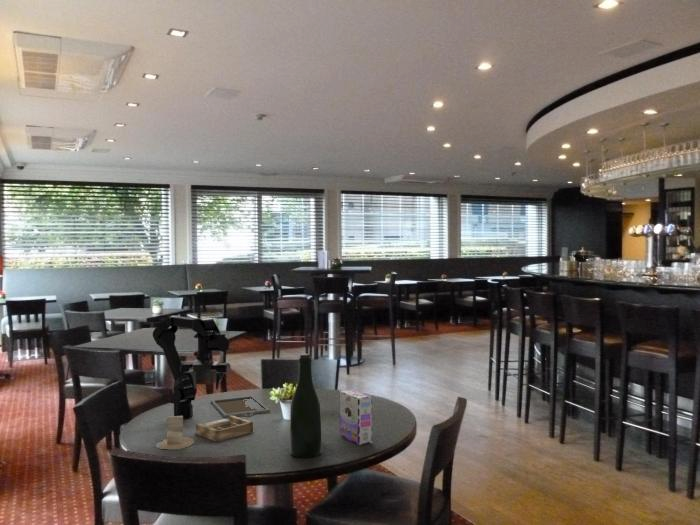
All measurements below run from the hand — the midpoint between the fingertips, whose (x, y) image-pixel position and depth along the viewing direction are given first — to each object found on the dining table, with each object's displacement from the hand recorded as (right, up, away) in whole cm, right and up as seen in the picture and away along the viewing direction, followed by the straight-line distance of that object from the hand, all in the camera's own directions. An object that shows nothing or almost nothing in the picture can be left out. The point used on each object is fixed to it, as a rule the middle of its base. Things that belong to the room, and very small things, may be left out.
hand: (205, 389), depth 227 cm
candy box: (+59, -13, -22) cm, 64 cm away
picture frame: (+10, -13, +21) cm, 27 cm away
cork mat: (-4, -13, -26) cm, 30 cm away
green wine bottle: (+42, -13, -37) cm, 58 cm away
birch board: (-4, -13, -26) cm, 30 cm away
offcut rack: (+10, -13, -14) cm, 22 cm away
